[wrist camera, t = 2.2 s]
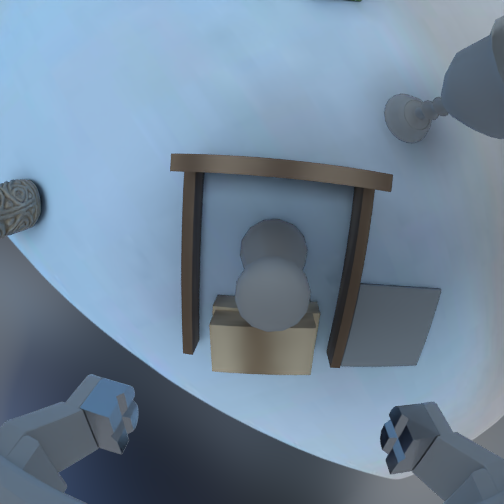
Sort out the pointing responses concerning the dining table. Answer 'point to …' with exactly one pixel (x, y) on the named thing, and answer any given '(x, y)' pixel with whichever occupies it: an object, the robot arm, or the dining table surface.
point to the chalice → (459, 93)
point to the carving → (18, 206)
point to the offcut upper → (261, 346)
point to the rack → (278, 168)
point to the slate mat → (389, 325)
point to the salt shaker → (273, 276)
